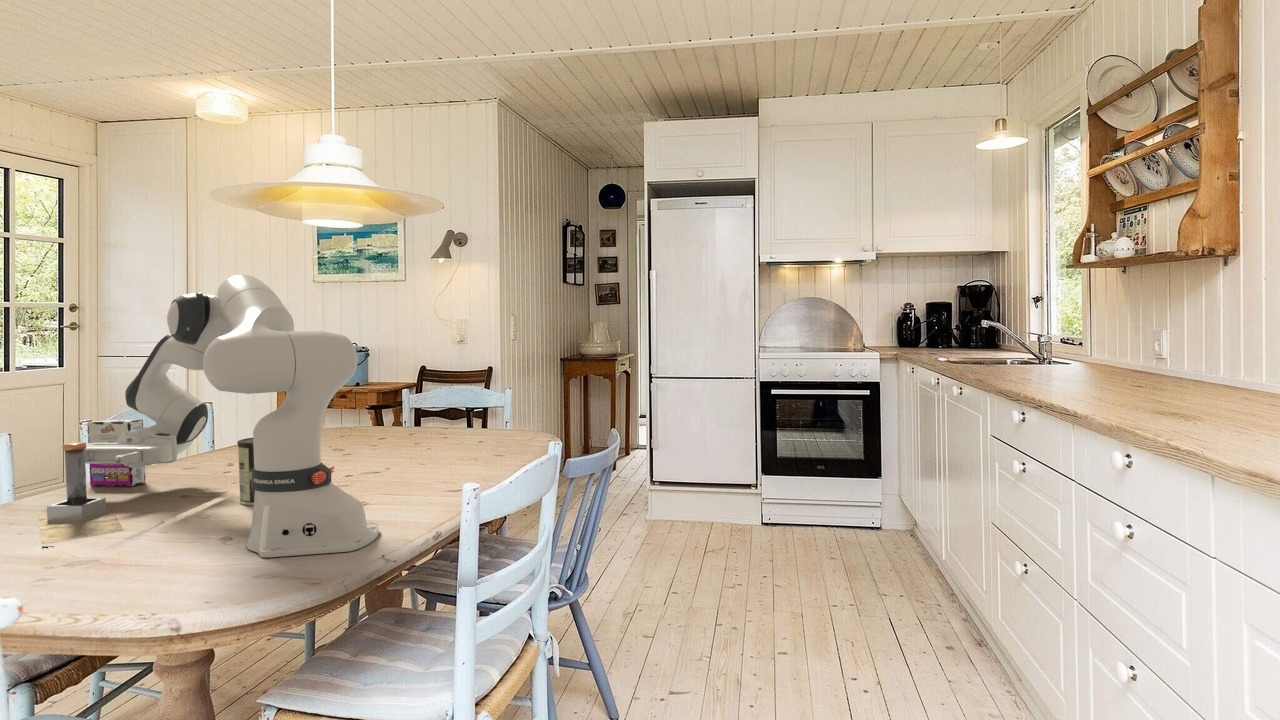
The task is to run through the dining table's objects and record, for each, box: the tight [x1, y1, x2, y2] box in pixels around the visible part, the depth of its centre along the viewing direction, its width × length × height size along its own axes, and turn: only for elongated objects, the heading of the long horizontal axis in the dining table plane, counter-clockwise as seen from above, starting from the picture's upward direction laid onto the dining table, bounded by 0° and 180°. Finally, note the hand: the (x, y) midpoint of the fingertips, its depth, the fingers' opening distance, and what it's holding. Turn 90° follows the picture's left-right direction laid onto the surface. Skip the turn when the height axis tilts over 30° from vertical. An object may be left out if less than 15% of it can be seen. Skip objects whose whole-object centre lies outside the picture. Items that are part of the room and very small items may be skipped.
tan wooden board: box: [38, 506, 124, 550], centre depth 141 cm, size 24×12×1 cm, turn 41°
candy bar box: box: [86, 419, 146, 488], centre depth 179 cm, size 11×5×16 cm, turn 87°
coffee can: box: [237, 437, 254, 506], centre depth 163 cm, size 10×10×14 cm
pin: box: [62, 442, 88, 505], centre depth 146 cm, size 4×4×15 cm
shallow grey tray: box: [46, 497, 107, 521], centre depth 146 cm, size 7×7×3 cm
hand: (96, 460), depth 152 cm, fingers open, 8 cm apart
